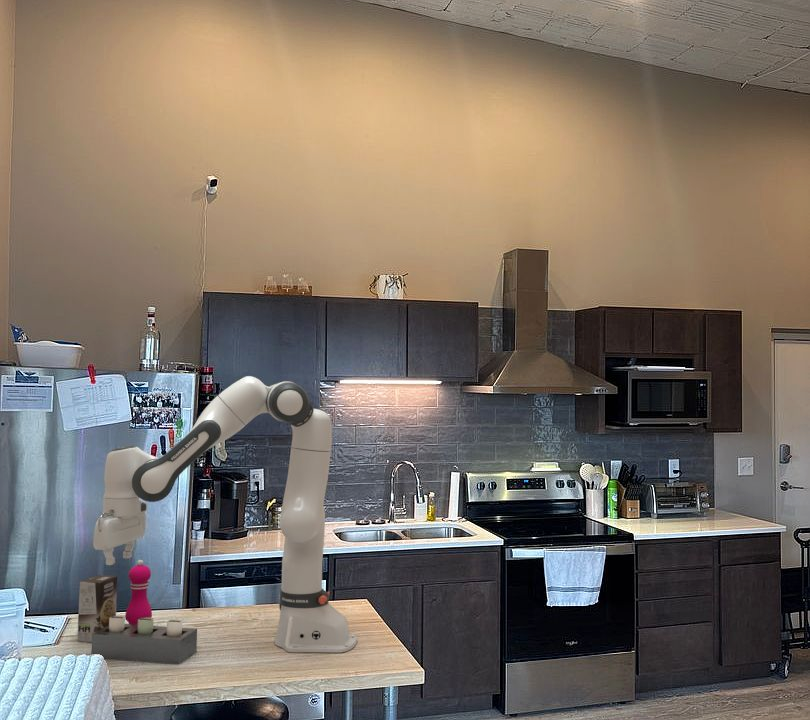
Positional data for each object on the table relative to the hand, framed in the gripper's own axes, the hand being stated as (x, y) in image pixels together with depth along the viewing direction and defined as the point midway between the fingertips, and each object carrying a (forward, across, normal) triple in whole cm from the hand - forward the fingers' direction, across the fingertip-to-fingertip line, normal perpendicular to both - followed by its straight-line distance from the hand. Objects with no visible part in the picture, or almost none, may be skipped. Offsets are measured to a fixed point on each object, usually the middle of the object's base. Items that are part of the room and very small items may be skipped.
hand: (118, 561), depth 208 cm
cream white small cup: (+19, 0, -16) cm, 25 cm away
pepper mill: (+24, +19, +4) cm, 31 cm away
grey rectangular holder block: (+24, 0, -8) cm, 25 cm away
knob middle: (+19, 0, -8) cm, 21 cm away
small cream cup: (+19, 0, 0) cm, 19 cm away
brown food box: (+24, +11, +12) cm, 29 cm away
